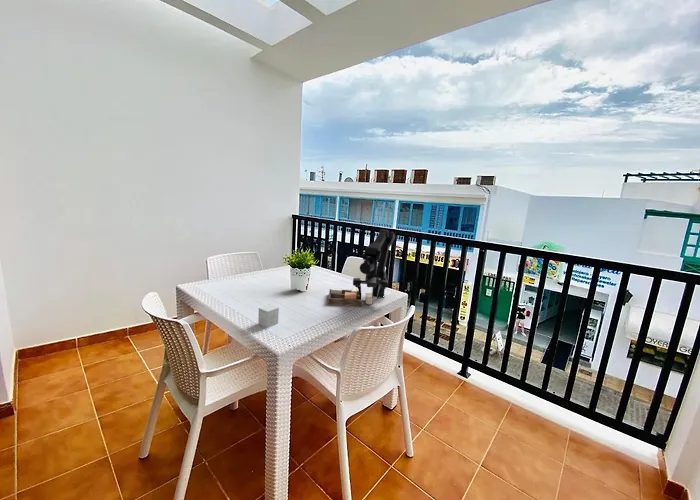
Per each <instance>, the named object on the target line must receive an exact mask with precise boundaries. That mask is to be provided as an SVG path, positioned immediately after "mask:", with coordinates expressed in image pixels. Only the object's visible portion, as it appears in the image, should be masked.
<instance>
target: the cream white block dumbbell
mask: <svg viewBox="0 0 700 500" xmlns="http://www.w3.org/2000/svg"><path fill="white" fill-rule="evenodd" d="M330 289H331V293H334V294H342V290H343V287H339V286H338V287H337V286H332V287H330ZM350 290H351V292H352V293H356V295H357V291H358V288H357V287H351V289H350Z"/></svg>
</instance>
